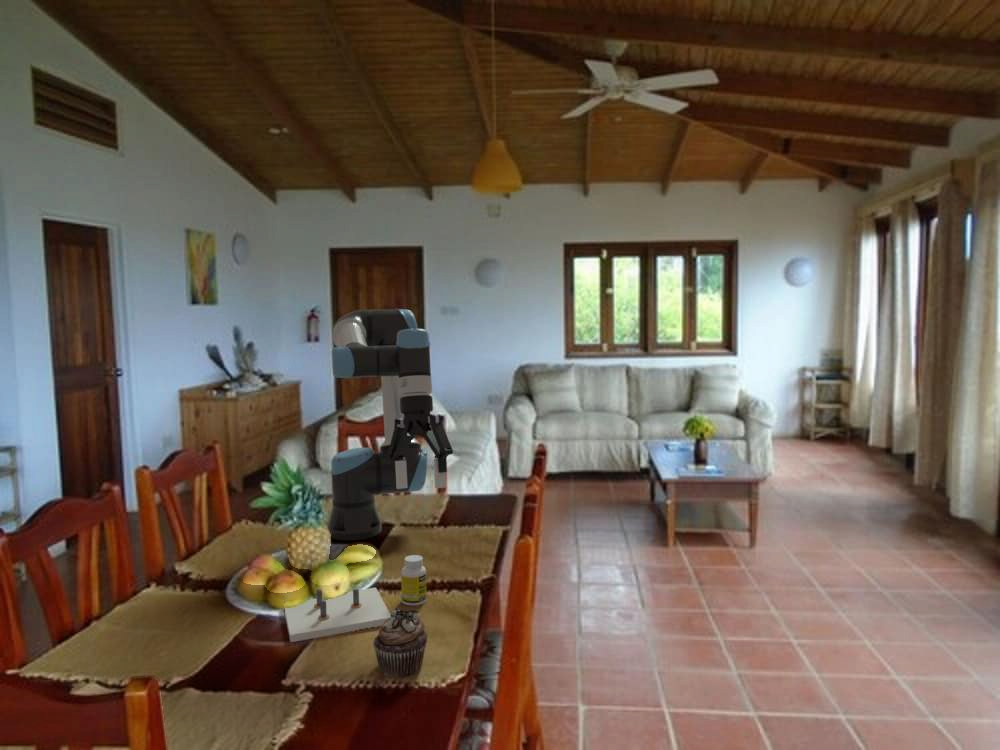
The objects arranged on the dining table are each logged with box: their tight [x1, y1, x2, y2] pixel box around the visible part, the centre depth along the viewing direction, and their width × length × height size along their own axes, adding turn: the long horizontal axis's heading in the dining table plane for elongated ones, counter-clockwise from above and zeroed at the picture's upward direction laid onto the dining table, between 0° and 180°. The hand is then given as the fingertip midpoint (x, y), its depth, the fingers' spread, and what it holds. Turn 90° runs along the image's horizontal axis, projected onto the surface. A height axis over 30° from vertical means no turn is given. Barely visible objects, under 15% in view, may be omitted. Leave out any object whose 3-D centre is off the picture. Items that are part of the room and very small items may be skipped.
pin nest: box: [284, 587, 391, 643], centre depth 150 cm, size 16×20×5 cm
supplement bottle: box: [400, 554, 427, 607], centre depth 157 cm, size 5×5×10 cm
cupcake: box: [372, 607, 428, 679], centre depth 129 cm, size 10×10×10 cm
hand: (420, 488), depth 164 cm, fingers open, 13 cm apart
